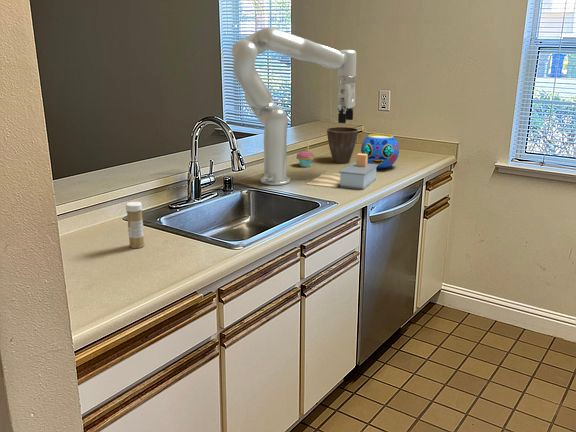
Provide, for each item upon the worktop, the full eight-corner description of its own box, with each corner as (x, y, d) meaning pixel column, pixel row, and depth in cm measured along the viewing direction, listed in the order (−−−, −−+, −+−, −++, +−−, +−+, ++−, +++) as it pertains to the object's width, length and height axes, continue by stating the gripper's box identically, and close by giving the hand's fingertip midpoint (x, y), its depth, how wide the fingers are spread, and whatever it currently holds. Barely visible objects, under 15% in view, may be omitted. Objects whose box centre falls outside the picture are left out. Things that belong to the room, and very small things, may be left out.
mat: (336, 187, 242) (336, 186, 242) (306, 184, 248) (306, 183, 247) (352, 176, 262) (352, 175, 261) (325, 173, 267) (325, 172, 267)
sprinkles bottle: (130, 243, 180) (127, 201, 176) (145, 243, 181) (142, 200, 177) (128, 249, 176) (124, 205, 172) (143, 248, 177) (140, 205, 172)
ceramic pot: (357, 170, 272) (358, 138, 267) (364, 162, 288) (365, 131, 283) (395, 172, 267) (397, 140, 262) (400, 164, 283) (402, 133, 279)
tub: (363, 189, 240) (363, 175, 238) (340, 186, 244) (340, 172, 242) (375, 179, 256) (376, 165, 254) (353, 177, 259) (354, 163, 258)
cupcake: (317, 165, 282) (317, 140, 278) (308, 168, 275) (308, 143, 272) (302, 163, 286) (302, 138, 283) (292, 166, 280) (292, 141, 276)
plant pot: (335, 157, 299) (336, 125, 294) (362, 161, 291) (363, 128, 286) (320, 162, 287) (321, 130, 282) (347, 166, 279) (348, 133, 274)
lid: (364, 177, 238) (365, 161, 236) (338, 175, 242) (339, 159, 240) (377, 168, 254) (378, 152, 252) (353, 165, 259) (353, 150, 257)
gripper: (348, 82, 239) (347, 124, 244) (361, 79, 254) (360, 119, 259) (331, 81, 242) (330, 123, 247) (344, 78, 257) (343, 118, 262)
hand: (345, 121), depth 253 cm, fingers open, 9 cm apart
